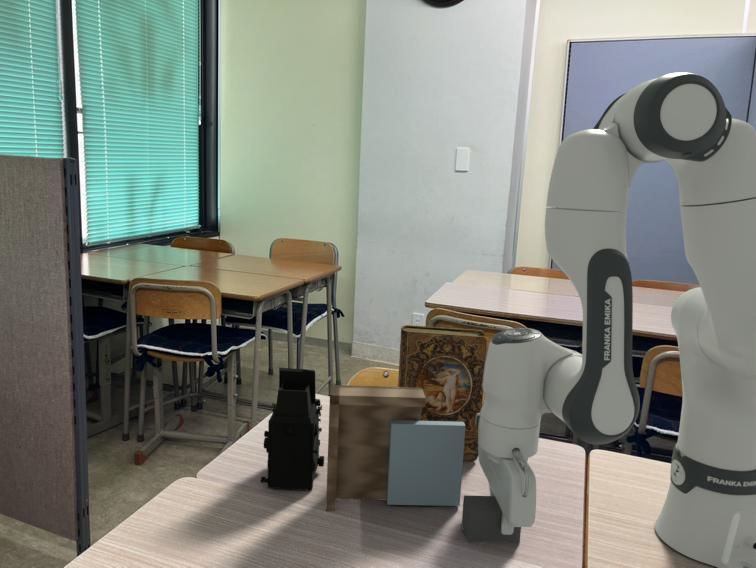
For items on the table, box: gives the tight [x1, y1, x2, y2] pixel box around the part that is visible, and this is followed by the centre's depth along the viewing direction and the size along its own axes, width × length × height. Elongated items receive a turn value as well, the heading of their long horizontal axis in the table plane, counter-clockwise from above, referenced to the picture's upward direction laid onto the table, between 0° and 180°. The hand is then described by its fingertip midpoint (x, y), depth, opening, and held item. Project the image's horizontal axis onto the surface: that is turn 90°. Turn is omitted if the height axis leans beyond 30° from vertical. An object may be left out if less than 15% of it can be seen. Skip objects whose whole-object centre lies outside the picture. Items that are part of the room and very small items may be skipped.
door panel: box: [386, 420, 465, 507], centre depth 99 cm, size 12×2×14 cm, turn 93°
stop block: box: [461, 495, 522, 544], centre depth 92 cm, size 8×4×5 cm, turn 93°
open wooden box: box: [325, 384, 426, 512], centre depth 98 cm, size 15×5×20 cm, turn 93°
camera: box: [260, 367, 325, 492], centre depth 107 cm, size 10×14×20 cm
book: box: [397, 324, 488, 462], centre depth 118 cm, size 16×6×25 cm, turn 84°
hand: (500, 520), depth 92 cm, fingers closed on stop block, 4 cm apart
